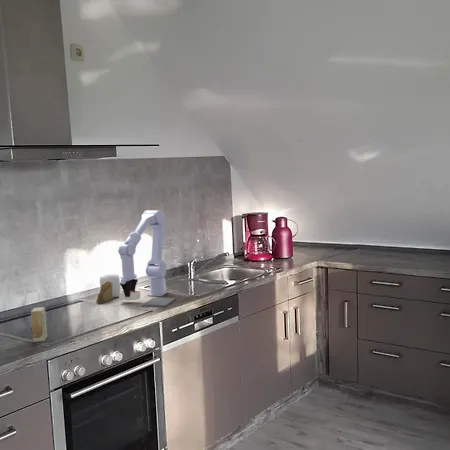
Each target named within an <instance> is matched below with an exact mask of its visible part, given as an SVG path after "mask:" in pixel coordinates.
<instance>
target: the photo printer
mask: <svg viewBox="0 0 450 450" xmlns="http://www.w3.org/2000/svg"><path fill="white" fill-rule="evenodd" d="M110 281H111V283H112V298H119V293H120V292H122V291H121V285H120V283H121V278H120V275H119V274H118V273H106V274H103V275H100V277H99V286H100V287H99V288H100V290H101V286H102V285H103V284H105V283H106V282H110ZM100 290H99V291H100Z"/></svg>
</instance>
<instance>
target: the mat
mask: <svg viewBox="0 0 450 450" xmlns="http://www.w3.org/2000/svg"><path fill="white" fill-rule="evenodd" d="M175 301H176V298H169V297H167V298H166V297H165V298H161V297H158V298H157V297H156V298H155V297H152V298H150V299H149V300H147V301H145V302H143V303H142V304H141V307H146V308H147V307H150V308H151V307H153V308H155V307H156V308H158V307H159V308H160V307H164V308H165V307H168V306H169V305H171V304H172V303H174V302H175Z"/></svg>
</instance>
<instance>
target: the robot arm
mask: <svg viewBox="0 0 450 450" xmlns="http://www.w3.org/2000/svg"><path fill="white" fill-rule="evenodd" d="M148 226H150V227H151V228H152V229H153V231H152V244H151V245H152V246H151V258H150V260H148V261H147V264H146V267H145V274H146V276H147V277H148V279H149V292H150V293H149V294H147V297H148V296H149V297H162V296H164V295H165V294H167V293H168V292H169V291H168V290H167V282H166V281H167V280H166V278H165V276H166V274H167V266H166V265H167V263H166V261H164V259H163V250H164V249H163V248H164V247H163V246H164V234H165V233H164V232H165V231H164V230H165V214H164V212H163V211H162V210H160V209H158V210H153V209H152V210H148V209H147V210H144V211H143V213H142V214H141V220H140V222H139V223H138V225H137V227H136V228H135V231H132V232H130V233H129V235H128V237H127V239H126V240H125V241H124V243H122V244H121V245H120V246H119V247H118V250H117V252H118V254H119V256H120V257H119V258H120V259H121V270H122V276H120V288H121V289H122V291H124V294H125V297H130V291H136V286H137V283H138V280H139V278H138V279H137V274H136V273H135V263H134V262H135V261H134V255H135V254H136V250H137V246H138V244H139V243H140V241H141V240H142V235H143V233H144V232H145V230H147V228H148Z"/></svg>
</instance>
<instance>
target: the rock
mask: <svg viewBox="0 0 450 450" xmlns="http://www.w3.org/2000/svg"><path fill="white" fill-rule="evenodd" d="M113 298H114V297H113ZM113 298H112V283H111V281H110V282H106V283H105V284H103V285H102V286H101V290H99V293H98V295H97V299H96V304H103V303H106V302H108V301H112V300H113Z"/></svg>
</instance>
